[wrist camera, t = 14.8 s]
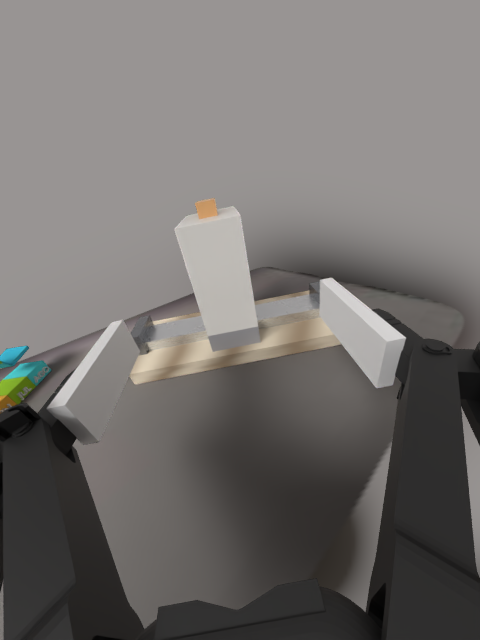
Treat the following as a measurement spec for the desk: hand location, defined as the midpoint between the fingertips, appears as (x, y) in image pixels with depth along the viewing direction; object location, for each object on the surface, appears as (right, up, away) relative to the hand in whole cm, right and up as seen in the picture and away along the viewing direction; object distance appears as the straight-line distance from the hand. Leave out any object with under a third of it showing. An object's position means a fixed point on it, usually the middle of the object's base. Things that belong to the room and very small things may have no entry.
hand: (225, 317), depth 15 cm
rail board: (+1, -2, +12) cm, 12 cm away
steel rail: (0, -1, +11) cm, 11 cm away
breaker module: (0, -1, +11) cm, 11 cm away
